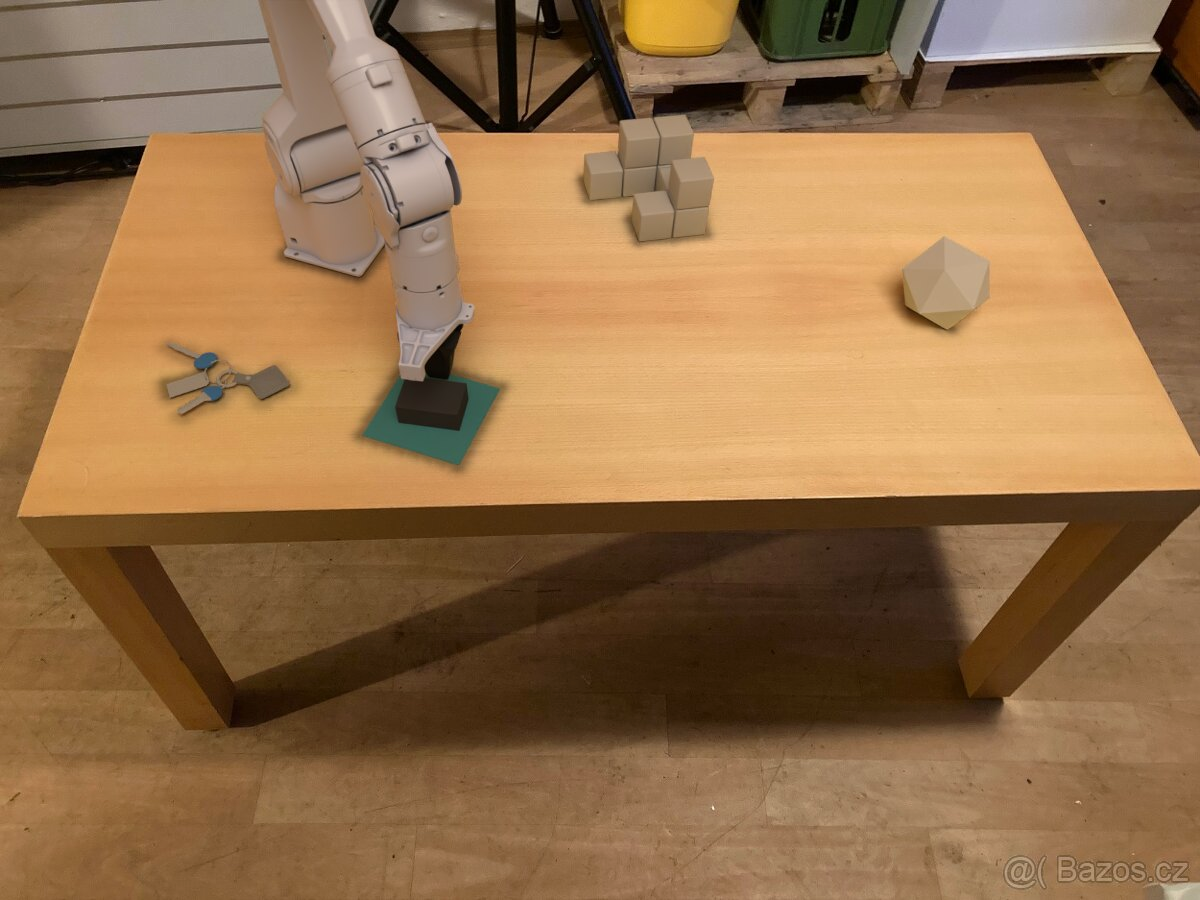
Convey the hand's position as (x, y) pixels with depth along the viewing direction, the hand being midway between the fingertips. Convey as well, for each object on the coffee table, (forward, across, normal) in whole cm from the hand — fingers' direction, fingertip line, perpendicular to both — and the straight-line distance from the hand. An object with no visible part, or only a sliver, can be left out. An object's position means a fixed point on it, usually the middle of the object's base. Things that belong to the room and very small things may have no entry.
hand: (439, 373), depth 90 cm
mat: (+2, -4, 0) cm, 4 cm away
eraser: (+1, -4, 0) cm, 4 cm away
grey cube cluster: (+2, +30, -17) cm, 35 cm away
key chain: (+1, -5, +22) cm, 22 cm away
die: (+2, +19, -50) cm, 54 cm away
